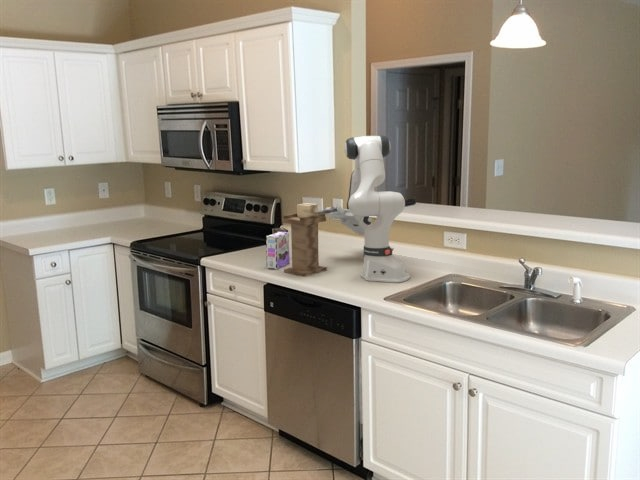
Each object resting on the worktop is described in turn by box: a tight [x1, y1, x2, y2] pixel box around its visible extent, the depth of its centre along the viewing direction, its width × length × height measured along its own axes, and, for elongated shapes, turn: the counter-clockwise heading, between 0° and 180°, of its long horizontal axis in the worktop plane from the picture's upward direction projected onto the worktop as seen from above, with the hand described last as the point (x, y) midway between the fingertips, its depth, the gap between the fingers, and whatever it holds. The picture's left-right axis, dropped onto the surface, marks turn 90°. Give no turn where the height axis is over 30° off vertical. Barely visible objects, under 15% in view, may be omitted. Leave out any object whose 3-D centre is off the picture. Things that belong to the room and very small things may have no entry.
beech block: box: [296, 202, 337, 217], centre depth 287 cm, size 26×8×6 cm, turn 137°
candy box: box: [265, 231, 291, 270], centre depth 293 cm, size 14×6×16 cm, turn 155°
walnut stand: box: [282, 212, 328, 278], centre depth 281 cm, size 16×13×28 cm
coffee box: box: [271, 227, 289, 234], centre depth 309 cm, size 9×6×16 cm
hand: (333, 207), depth 293 cm, fingers closed on beech block, 2 cm apart
